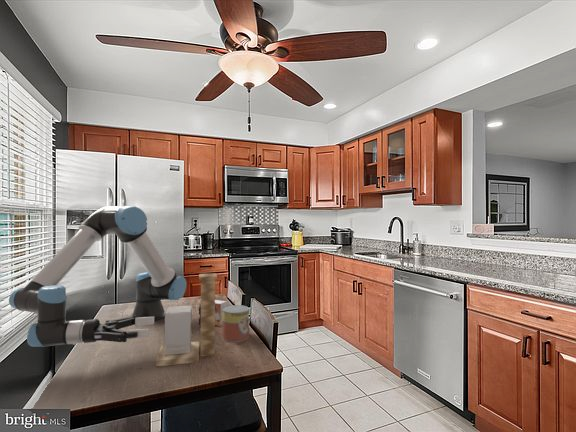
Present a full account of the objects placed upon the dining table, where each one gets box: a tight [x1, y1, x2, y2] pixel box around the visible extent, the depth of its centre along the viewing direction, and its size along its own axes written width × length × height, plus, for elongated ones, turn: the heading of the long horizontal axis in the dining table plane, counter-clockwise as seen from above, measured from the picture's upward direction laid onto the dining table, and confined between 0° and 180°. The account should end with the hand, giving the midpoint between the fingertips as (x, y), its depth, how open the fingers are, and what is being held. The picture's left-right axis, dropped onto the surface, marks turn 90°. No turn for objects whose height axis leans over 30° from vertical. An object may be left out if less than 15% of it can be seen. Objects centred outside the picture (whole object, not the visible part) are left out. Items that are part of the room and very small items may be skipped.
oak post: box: [198, 272, 218, 357], centre depth 118 cm, size 6×6×29 cm
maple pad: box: [155, 340, 200, 368], centre depth 116 cm, size 14×14×2 cm
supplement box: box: [164, 305, 193, 355], centre depth 116 cm, size 9×9×15 cm
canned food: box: [221, 304, 250, 343], centre depth 134 cm, size 11×11×12 cm
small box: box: [215, 299, 228, 327], centre depth 151 cm, size 8×6×10 cm
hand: (151, 326), depth 113 cm, fingers open, 13 cm apart
